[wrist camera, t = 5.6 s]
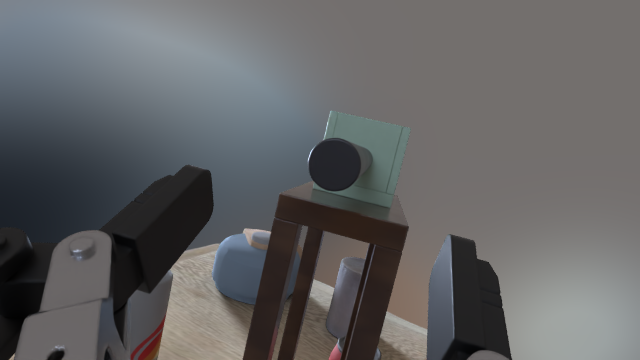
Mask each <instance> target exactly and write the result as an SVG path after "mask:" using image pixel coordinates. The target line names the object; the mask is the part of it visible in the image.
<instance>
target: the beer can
mask: <svg viewBox="0 0 640 360" xmlns="http://www.w3.org/2000/svg"><path fill="white" fill-rule="evenodd" d="M345 337H346V336H342V337H341V338H339V340H338V342H337V344H336V346H335V347H334V349H333V350H332V352H331V355H330V357H329V360H340V357H341V353H342V349H343V345H344V341H345ZM380 359H381V352H380V350H379V349H378V347H377V350H376V353H375V357H374V360H380Z"/></svg>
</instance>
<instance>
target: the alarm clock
mask: <svg viewBox="0 0 640 360" xmlns="http://www.w3.org/2000/svg"><path fill="white" fill-rule="evenodd" d="M270 235H271V232H269V231H264V230H256V229H245V230H244V231H243V234H236V235H233V236H230V237H228V238H226V239H225V240H224V241H223V242H222V243H221V244H220V246H219V248H218V250H217V252H216V256H215V261H214V266H213V270H212V277H213V280H214V281H215V284H216V287H217V289H218V290H219V291H220V292H221V293H223V294H224V295H226V296H227V297H230V298H232V299H234V300H237V301H240V302H244V303H248V304H254V305H255V302H256V298H257V293H258V289H259V284H260V280H261V275H262V271H263V266H264V262H265V257H266V253H267V248H268V244H269V239H270ZM301 256H302V248H301V247H300V246H299V245H298V247H297V252H296V256H295V260H294V265H293V269H292V273H291V278H290V282H289V286H288V291H287V295H286V299H288V297H289V295H291V294H292V293H293V290H294V286H295V282H296V277H297V273H298V269H299V265H300V260H301ZM286 299H285V300H286Z"/></svg>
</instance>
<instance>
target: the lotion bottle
mask: <svg viewBox="0 0 640 360" xmlns="http://www.w3.org/2000/svg"><path fill="white" fill-rule="evenodd" d="M172 280H173V274H172V272H171V271H170V270H169V271H168V272H167V273H166V275H165V276H164V277H163V278H162V280H161V281H160V282H159V283H158V285H157V286H156V287H155V288H154V290H153V291H152V292H151V293H150V294H148V293H145V292H142V291H139V290H136V291H135V292H134V293H133V294H132V296H131V297H130V300H131V340H130V357H131V360H157V358H158V353H159V348H160V342H161V337H162V332H163V327H164V322H165V317H166V312H167V307H168V301H169V296H170V291H171V286H172Z"/></svg>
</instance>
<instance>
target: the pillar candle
mask: <svg viewBox="0 0 640 360" xmlns="http://www.w3.org/2000/svg"><path fill="white" fill-rule="evenodd" d="M364 262H365V259H362V258H356V257H346V258H344V259H343V260H342V261H341V266H340V269H339V274H338V278H337V281H336V285H335V289H334V293H333V297H332V301H331V305H330V309H329V313H328V317H327V321H326V327H327V329H328V331H329V332H330V333H332V335H334V336H336V337H337V338H338V339H339V338H341V337H342V336H346V333H347V329H348V326H349V322H350V318H351V314H352V310H353V306H354V302H355V298H356V294H357V290H358V286H359V282H360V278H361V274H362V270H363V266H364Z"/></svg>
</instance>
